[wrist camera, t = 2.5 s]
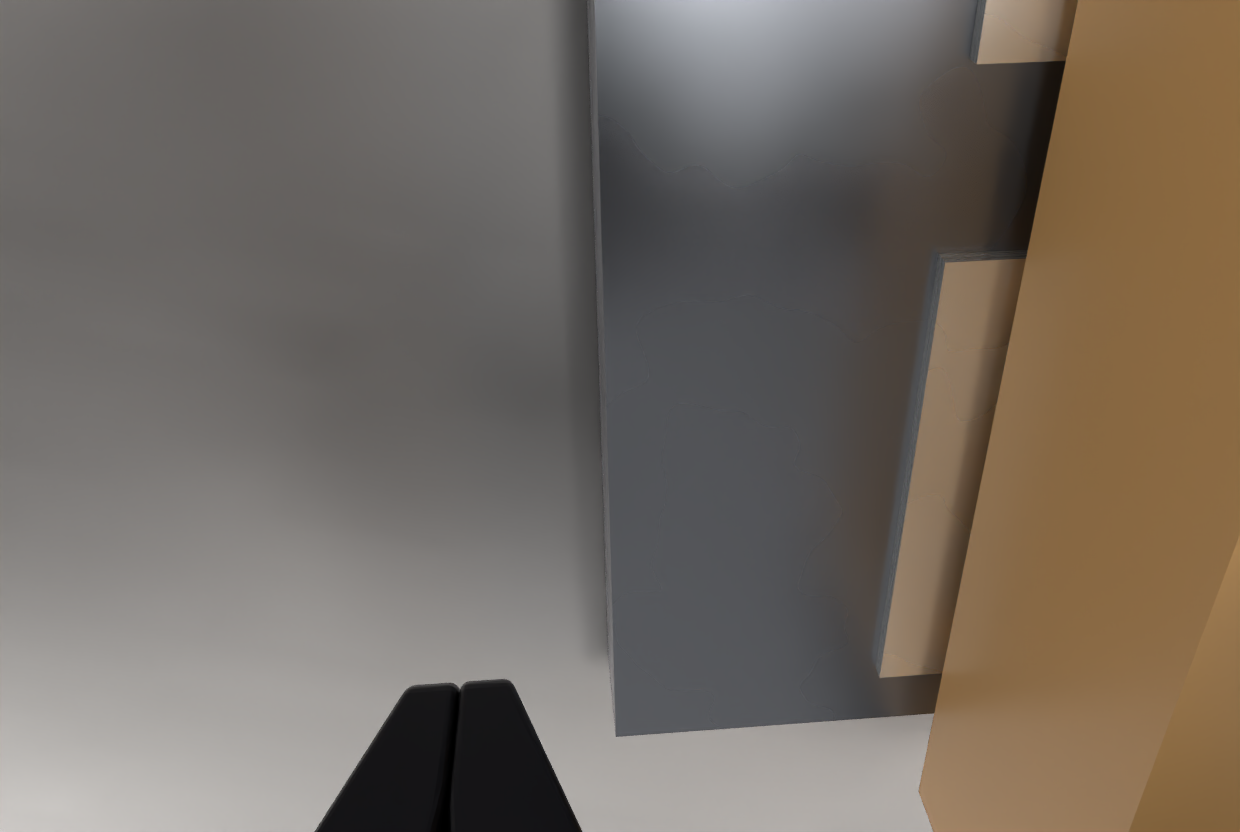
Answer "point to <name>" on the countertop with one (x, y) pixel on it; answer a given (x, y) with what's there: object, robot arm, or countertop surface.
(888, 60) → the label panel
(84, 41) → the countertop surface
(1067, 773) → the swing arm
